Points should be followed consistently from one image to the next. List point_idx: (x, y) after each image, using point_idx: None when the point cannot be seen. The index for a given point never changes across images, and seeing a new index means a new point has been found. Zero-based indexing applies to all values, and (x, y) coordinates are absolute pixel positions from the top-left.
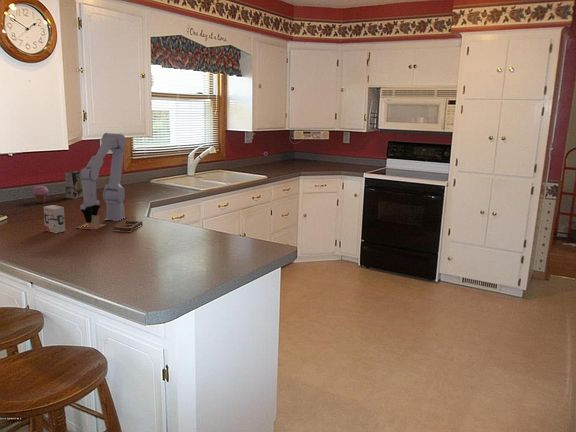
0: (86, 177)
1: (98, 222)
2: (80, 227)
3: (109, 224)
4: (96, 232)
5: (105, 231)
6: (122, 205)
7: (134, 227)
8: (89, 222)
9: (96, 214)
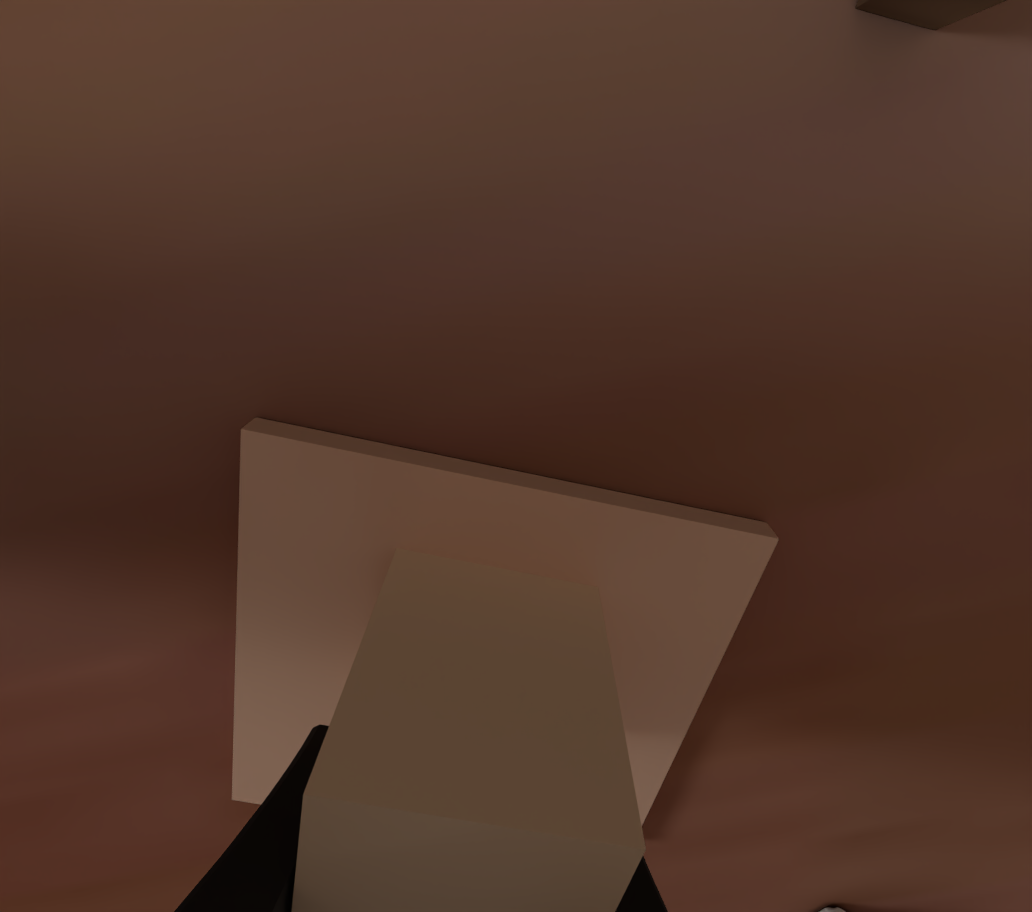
0: None
1: (434, 618)
2: None
3: (102, 369)
4: (961, 471)
5: (900, 279)
6: None
7: None
8: None
9: (246, 901)
